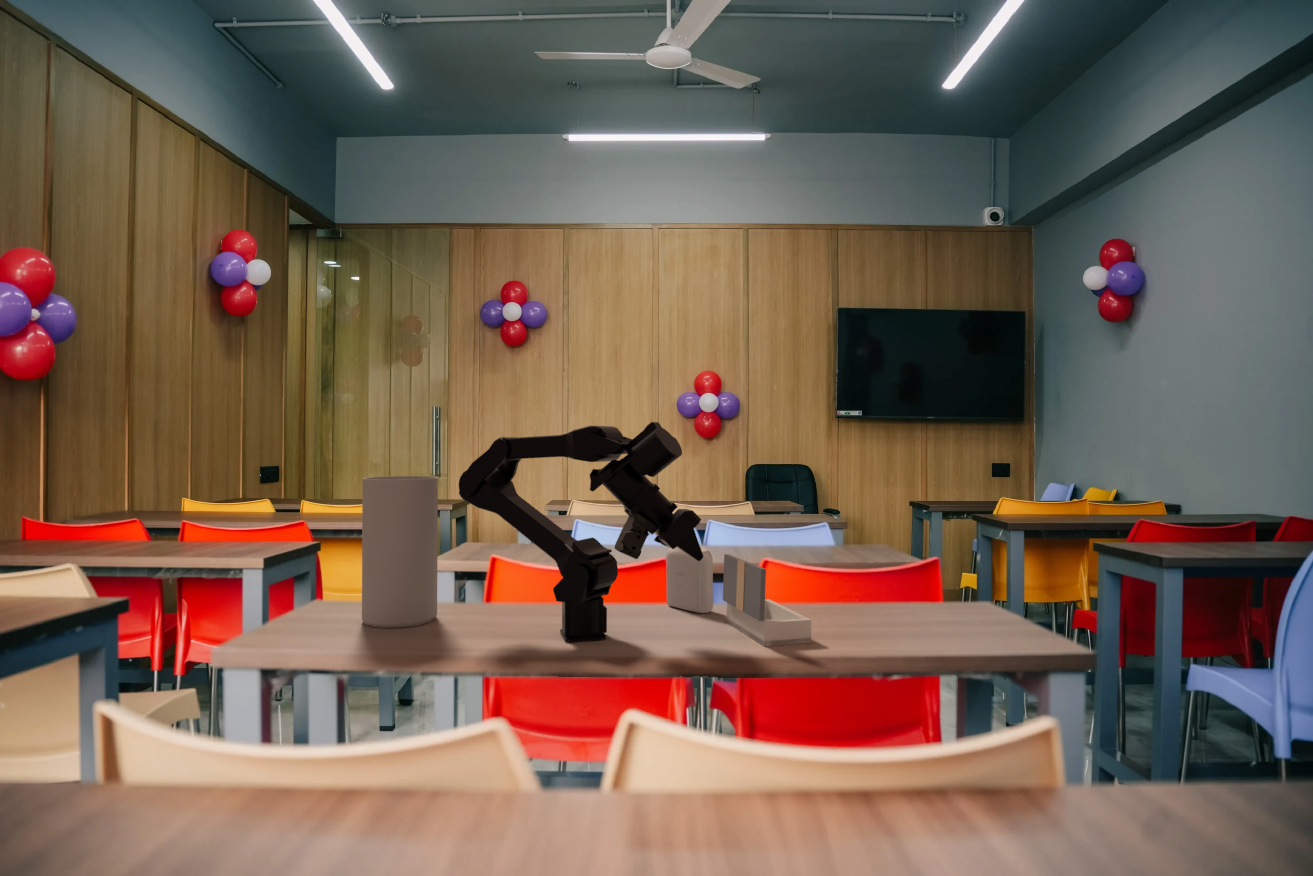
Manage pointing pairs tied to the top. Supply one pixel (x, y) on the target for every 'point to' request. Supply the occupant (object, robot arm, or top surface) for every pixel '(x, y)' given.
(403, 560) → the cylinder vase
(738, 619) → the storage box
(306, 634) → the top surface
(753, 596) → the flap lid
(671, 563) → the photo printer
